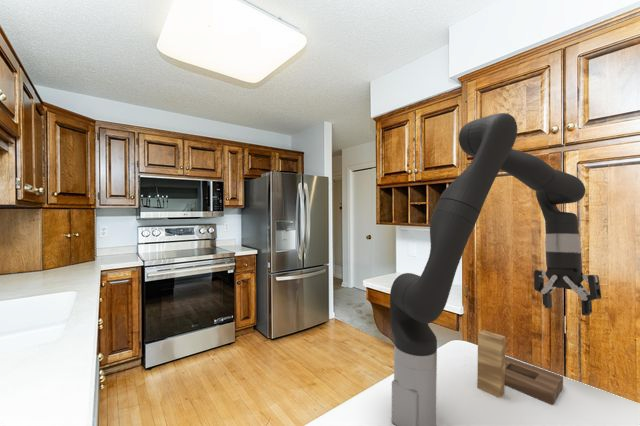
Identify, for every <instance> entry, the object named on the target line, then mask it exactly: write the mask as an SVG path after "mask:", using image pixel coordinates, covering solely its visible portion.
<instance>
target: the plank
mask: <svg viewBox="0 0 640 426" xmlns="http://www.w3.org/2000/svg"><path fill="white" fill-rule="evenodd" d="M505 356H506V336H504V335H501V334H497V333H494V332H491V331H488V330H484V329H482V330H480V331H478V332H477V373H476V374H477V377H476V378H477V380H476V381H477V383H476V384H477V385H476V386H477V389H480V390H481V391H484V392H486V393H488V394H489V395H490V394H491V395H492V396H495V397H496V398H499V399H501V398H502V397H503V396H504V394H505V386H506V385H505Z"/></svg>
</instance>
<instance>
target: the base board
mask: <svg viewBox="0 0 640 426" xmlns="http://www.w3.org/2000/svg"><path fill="white" fill-rule="evenodd" d="M504 386H505V387H508V388H511V389H512V390H516V391H518V392H521V393H523V394H525V395H527V396H530V397H532V398H534V399H537V400H538V401H541V402H544V403H546V404H549V405H551V406H553V405H554V404H555V402H556V401H557V400H558V399H557V398H558V397H559V395H560V394H561V392H562V391H563V388H564V376H563V375H561V374H557V373H555V372H551V371H550V370H549V371H548V370H547V369H544V368H540V367H537V366H536V365H535V366H534V365H532V364H529V363H526V362H524V361H521V360H517V359H515V358H511V357H510V356H506V355H505V385H504Z"/></svg>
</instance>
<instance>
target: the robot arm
mask: <svg viewBox="0 0 640 426" xmlns="http://www.w3.org/2000/svg"><path fill="white" fill-rule="evenodd" d="M517 135H518V123H517V120H516V119H515V117H514V116H513V115H511V114H510V113H506V112H500V113H494V114H490V115H487V116H483V117H481V118H476V119H473V120H471V121H469V122H467V123H465V124H464V125H463V126H462V127H461V129H460V131H459V133H458V144H459V146H460V148H461V150H462V151H463V152H464V153H465V154H466V155H468V156H469V157H472V158H473V159H472V161H471V162H470V163H469V165H468V166H467V167H466V168H465V169H464V171H462V173H459V175H458V176H457V177H456V178H455V179H454V180H453V181H452V182H451V183H450V184H449V185H448V186H447V187H446V188H445V189H444V191H443V192H442V193H441V195H440V197H439V199H438V200H437V203H436V205H435V208H434V209H433V212H432V215H431V217H430V221H429V239H430V240H429V241H430V250H429V256H428V259H427V261H426V264H425V266H424V269H423V271H422V273H421V275H418V274H415V273H412V272H405V273H402V274H400V275H398V276H397V277H396V278H395V279H394V281H393V283H392V285H391V286H390V287H391V288H390V293H389V311H390V315H389V316H390V328H391V331H392V335H393V338H394V339H393V340H394V342H393V344H394V347H393V348H394V351H393V353H394V355H393V380H392V381H391V423H393V424H394V425H395V426H437V382H438V381H437V377H438V376H437V375H438V374H437V371H438V370H437V369H438V368H437V367H438V363H437V362H438V339H437V336H436V334H435V332H434V331H433V330H432V329H431V326H429V324H431V323H433V322H435V321H437V319H439V317H440V316H441V314H442V313H443V312H444V310H445V307H446V304H447V302H448V299H449V296H450V294H451V289H452V286H453V283H454V279H455V275H456V272H457V271H458V266H459V264H460V262H461V258H462V256H463V254H464V251H465V248H466V246H467V243H468V241H469V239H470V236H471V234H472V233H473V230H474V228H475V226H476V223H477V221H478V220H479V216H480V215H481V213H482V212H481V211H482V209H483V207H484V203H485V202H486V199H487V197H488V195H489V193H490V191H491V188H492V186H493V184H494V182H495V180H496V178H497V176H498V174H499V172H500V171H502V172H505V173H506V174H509V175H510V176H512V177H513V178H515V179H517V180H518V181H519V182H521V183H522V184H524V185H525V186H526V187H528V188H529V189H531V190H533V191H535V197H536V200H537V203H538V205H539V207H540V210H541V213H542V215H543V219H544V222H545V223H544V227H545V239H544V240H545V241H544V246H545V249H544V250H545V251H544V252H545V266H546V268H547V269H546V270H543V269H535V270H534V271H533V273H534V275H533V279H534V282H533V286H534V287H533V289H534V291H536V292H539V293H541V296H542V304H543V306H544V308H545V309H552V307H553V300H552V294H551V293H552V292H553V291H554V290H555V289H557V288H558V289H565V290H572V291H573V292H574V293H576V294H577V295H578V296H579V297H580V298H581V300H580V305H581V306H580V307H581V308H580V309H581V315H582V316H585V317H588V316H590V315H591V314H592V313H593V303H592V302H593V300H601V299H602V291H601V285H600V284H601V283H600V277H599V276H598V275H597V274H584V273H583V262H582V261H583V260H582V258H583V257H582V244H581V238H580V233H579V219H578V216H577V214H576V213H574V212H571V211H570V212H568V211H560V209H559V208H558V206H557V205H565V204H574V203H578V202H579V201H581V200H582V199H584V197H585V195H586V187H585V184H584V183H583V181H582V180H580V178H578V177H577V176H575V175H573V174H572V173H571V174H570V173H568V172H565V171H562V170H558V169H555V168H554V167H552V166H551V165H550V164H549V163H547V162H546V161H544V160H543V159H541V158H540V157H538V156H536V155H534V154H531V153H527V152H524V151H520V150H517V149H515V148H513V147H514V145H515V143H516V141H517V140H516V139H517ZM545 278H547V279H548V281H547V282H546V283H545ZM584 280H585V282H586V283H587V284H588V289H589V291H588V289H587V288H586V287H585V286H584V284H583V283H582V282H583V281H584Z"/></svg>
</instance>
